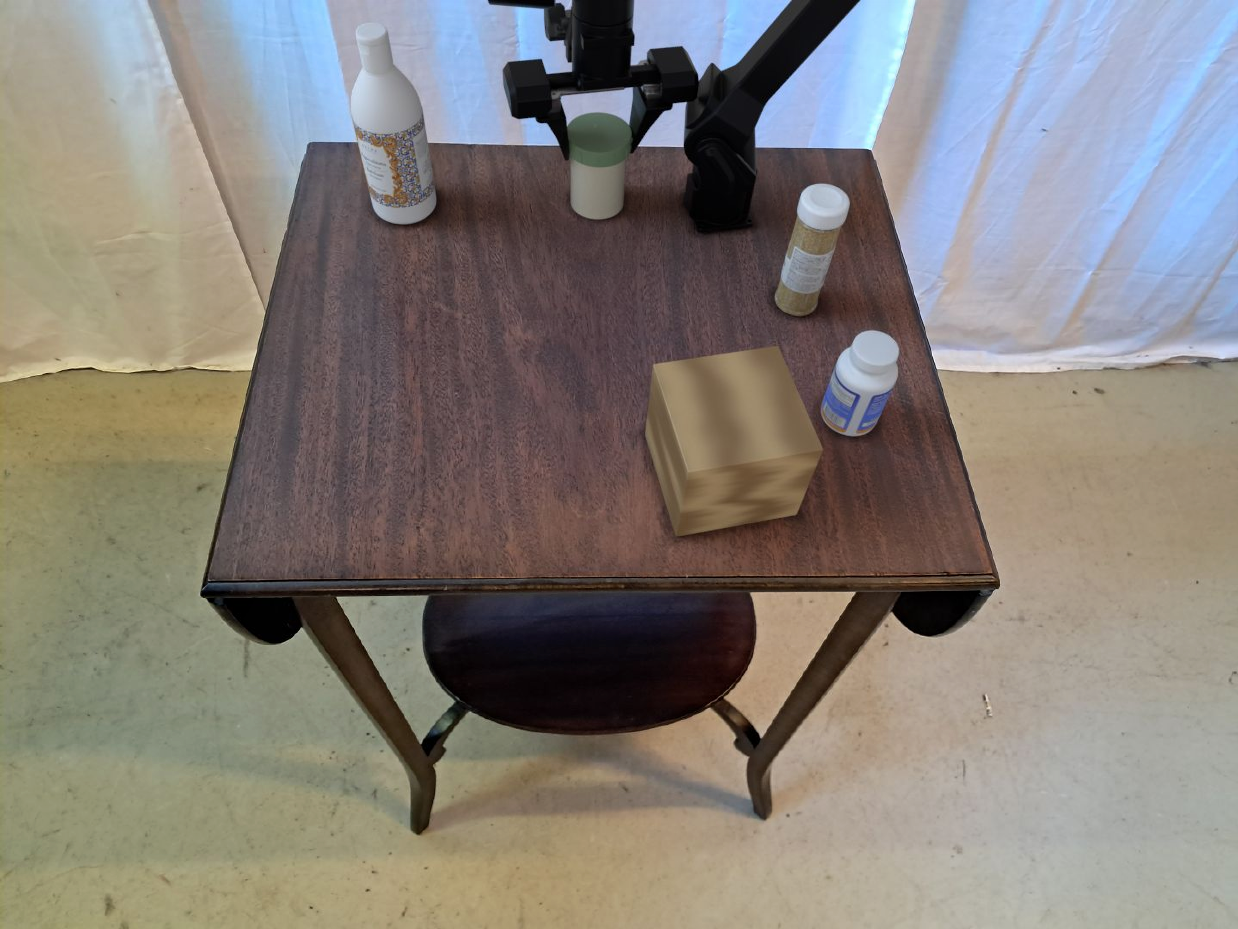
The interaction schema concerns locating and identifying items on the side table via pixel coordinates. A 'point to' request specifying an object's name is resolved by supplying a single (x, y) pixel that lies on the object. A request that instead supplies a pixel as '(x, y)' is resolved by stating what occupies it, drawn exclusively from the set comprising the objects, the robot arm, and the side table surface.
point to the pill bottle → (861, 384)
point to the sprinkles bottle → (811, 248)
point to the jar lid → (599, 139)
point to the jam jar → (597, 189)
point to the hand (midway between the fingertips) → (598, 154)
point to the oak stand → (729, 439)
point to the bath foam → (391, 133)
